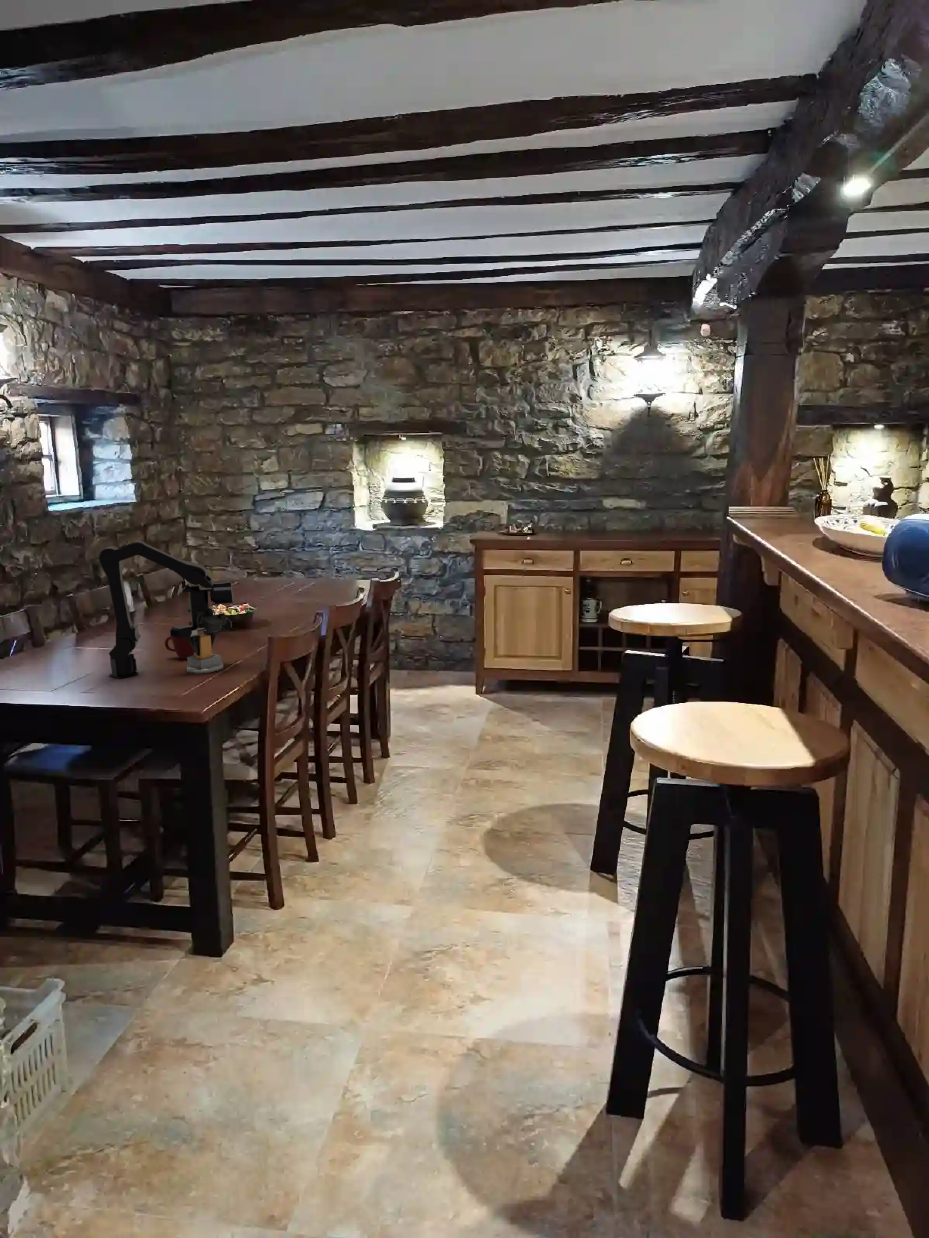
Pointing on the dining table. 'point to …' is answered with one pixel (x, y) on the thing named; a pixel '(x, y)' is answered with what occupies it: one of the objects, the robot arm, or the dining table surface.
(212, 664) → the silver square frame
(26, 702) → the dining table surface
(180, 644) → the mug
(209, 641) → the orange-brown rectangular block
